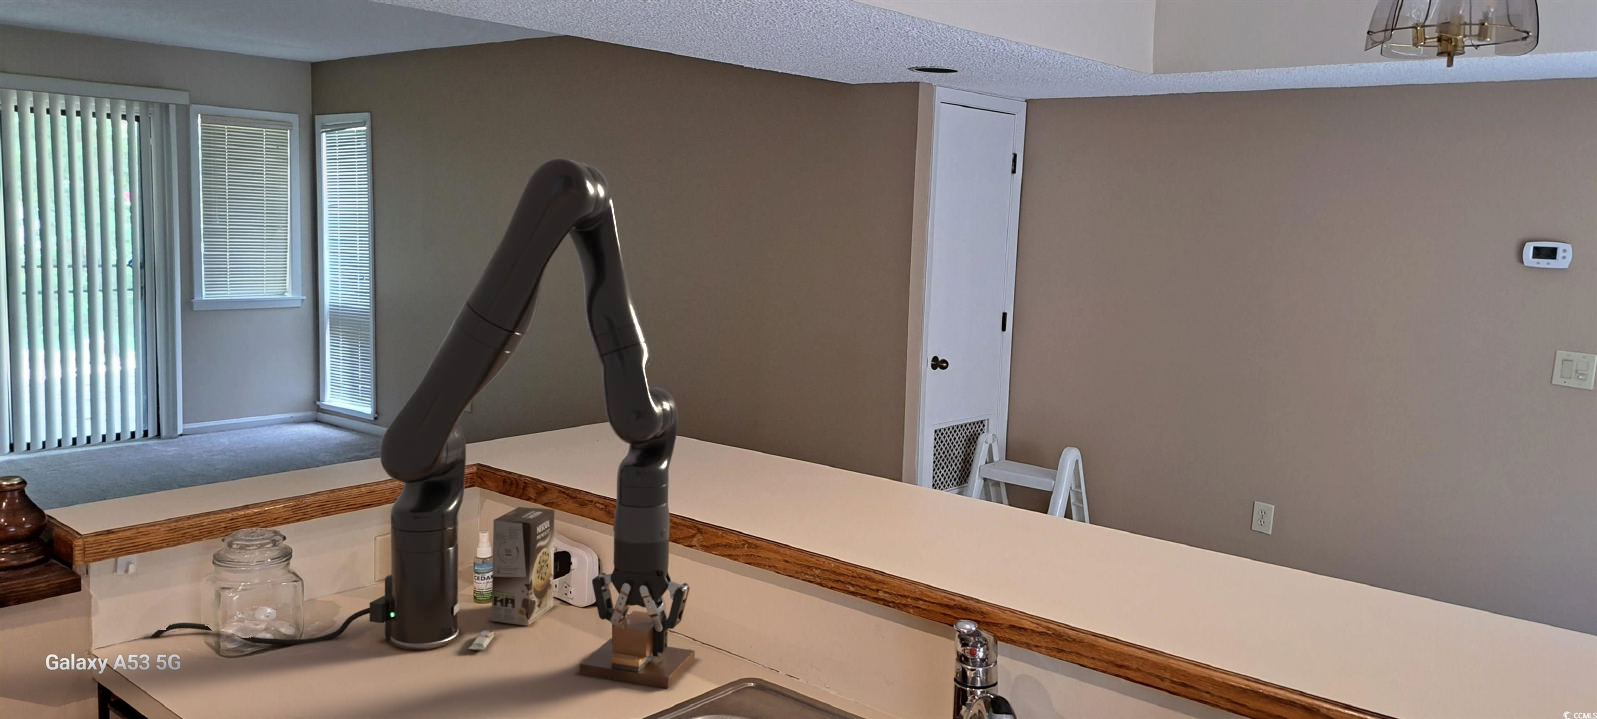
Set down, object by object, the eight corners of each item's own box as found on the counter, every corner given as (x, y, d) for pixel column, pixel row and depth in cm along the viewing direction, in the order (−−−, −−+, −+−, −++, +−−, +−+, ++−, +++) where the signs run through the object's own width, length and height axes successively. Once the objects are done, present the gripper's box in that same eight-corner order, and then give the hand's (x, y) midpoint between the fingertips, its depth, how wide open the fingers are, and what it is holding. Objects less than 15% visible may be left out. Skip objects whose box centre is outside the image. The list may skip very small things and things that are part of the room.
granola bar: (484, 652, 151) (484, 645, 151) (468, 652, 151) (468, 645, 151) (497, 635, 158) (497, 628, 157) (481, 634, 158) (481, 627, 157)
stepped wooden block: (637, 641, 154) (637, 606, 153) (669, 646, 153) (670, 611, 152) (607, 667, 144) (607, 630, 144) (641, 673, 143) (642, 635, 142)
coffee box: (529, 626, 162) (530, 523, 160) (490, 621, 163) (491, 519, 161) (554, 606, 171) (556, 508, 169) (517, 602, 172) (518, 504, 170)
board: (579, 673, 145) (579, 663, 145) (610, 647, 155) (611, 637, 155) (668, 688, 142) (668, 677, 142) (694, 660, 152) (695, 650, 152)
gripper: (700, 531, 148) (697, 648, 150) (605, 520, 152) (603, 635, 154) (680, 546, 141) (677, 669, 143) (581, 534, 145) (579, 654, 147)
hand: (639, 651), depth 148 cm, fingers closed on stepped wooden block, 5 cm apart
